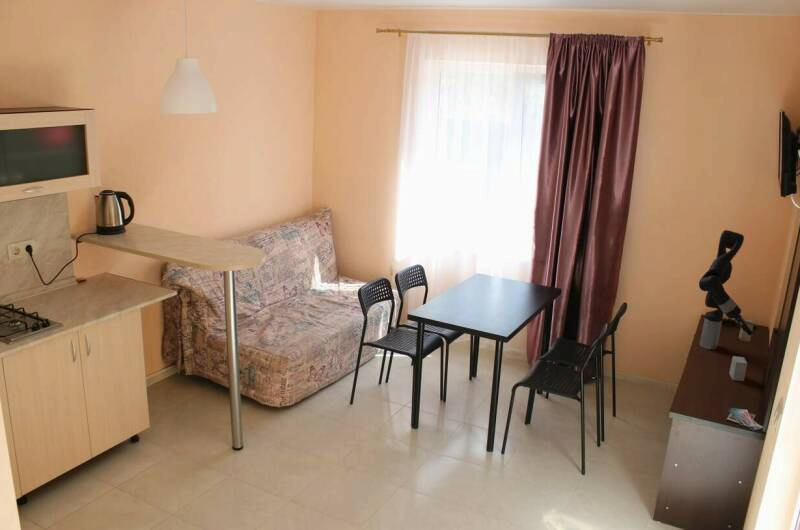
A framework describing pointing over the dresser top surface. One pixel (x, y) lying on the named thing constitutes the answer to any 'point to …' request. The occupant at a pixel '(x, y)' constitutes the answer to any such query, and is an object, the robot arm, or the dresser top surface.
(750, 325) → the maple block
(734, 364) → the small box
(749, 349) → the dresser top surface
